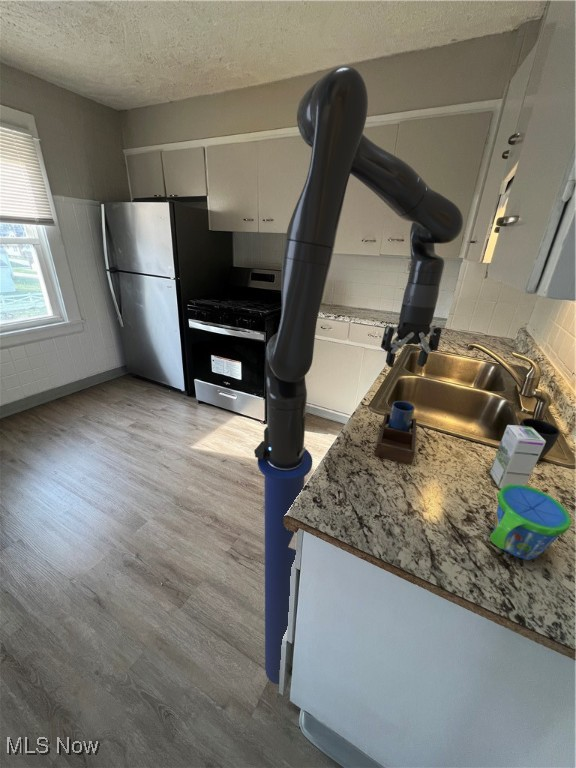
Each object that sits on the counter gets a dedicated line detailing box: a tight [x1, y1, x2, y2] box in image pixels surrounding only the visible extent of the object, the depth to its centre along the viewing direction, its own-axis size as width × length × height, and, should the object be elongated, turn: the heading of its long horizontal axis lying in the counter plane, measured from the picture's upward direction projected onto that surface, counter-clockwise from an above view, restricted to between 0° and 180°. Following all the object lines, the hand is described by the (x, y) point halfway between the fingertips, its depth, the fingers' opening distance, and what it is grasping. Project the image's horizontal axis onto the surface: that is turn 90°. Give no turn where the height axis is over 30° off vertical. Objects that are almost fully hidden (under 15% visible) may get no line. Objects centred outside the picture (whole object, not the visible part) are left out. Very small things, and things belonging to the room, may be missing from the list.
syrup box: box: [489, 424, 546, 490], centre depth 73 cm, size 6×6×14 cm
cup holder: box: [375, 412, 417, 466], centre depth 88 cm, size 9×17×4 cm, turn 158°
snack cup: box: [489, 484, 572, 561], centre depth 58 cm, size 16×10×10 cm
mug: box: [503, 417, 561, 463], centre depth 84 cm, size 8×12×10 cm
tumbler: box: [388, 400, 416, 432], centre depth 90 cm, size 6×6×9 cm
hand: (405, 365), depth 81 cm, fingers open, 8 cm apart
